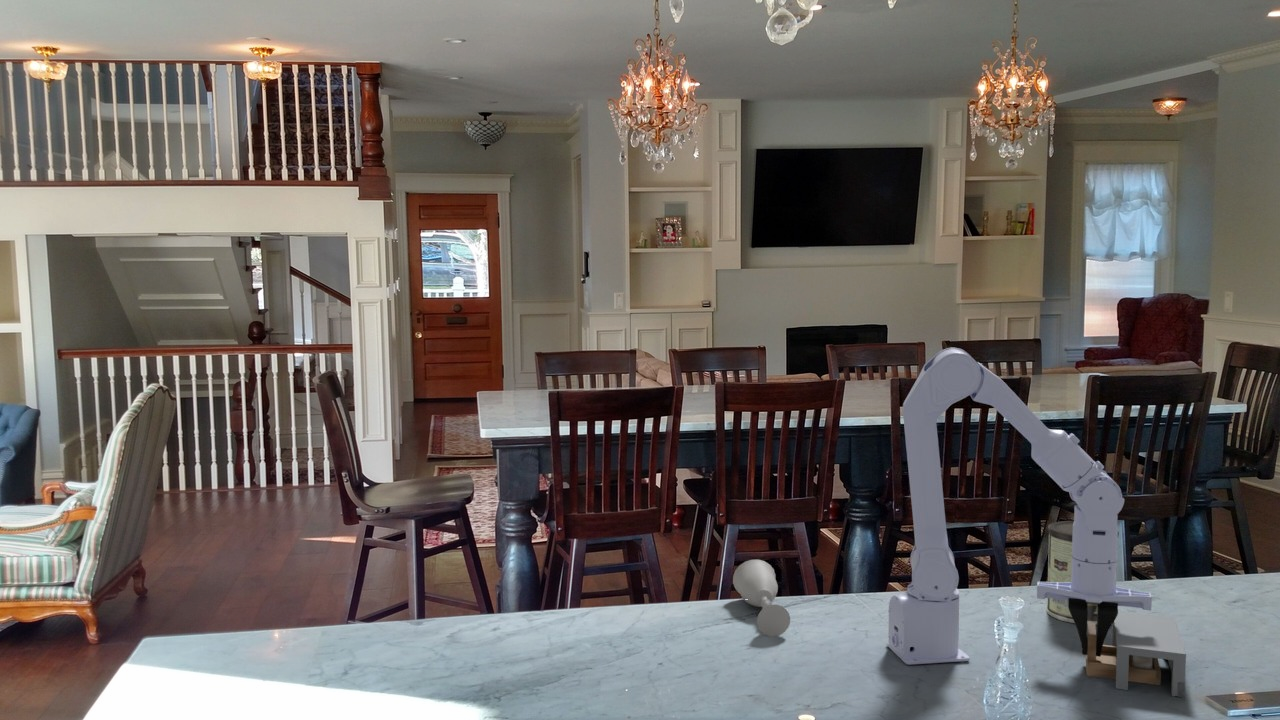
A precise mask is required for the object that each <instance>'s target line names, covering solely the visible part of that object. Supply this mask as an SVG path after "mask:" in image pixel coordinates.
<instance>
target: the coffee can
mask: <svg viewBox="0 0 1280 720" xmlns="http://www.w3.org/2000/svg"><path fill="white" fill-rule="evenodd" d="M1073 523H1074V520H1064V521H1063V520H1062V521H1056V522H1052V523H1049V524H1048V526H1047V531H1048V551H1047V552H1048V555H1047V556H1048V558H1047V559H1048V561H1047V582H1071V567H1072V536H1073ZM1119 532H1120V531H1118V536H1119ZM1116 574H1117V569H1116ZM1046 599H1047V601H1046V603H1047V605H1046V613H1047V614H1048V615H1049V616H1051V617H1052V618H1054V619H1056V620H1059V621H1061V622H1065V623H1070V624H1074V625H1075V622H1074V620H1073V618H1072V616H1071V614H1070V611H1069V608H1068V600H1061V599H1052V598H1046ZM1087 605H1088V608H1087V610H1088V617H1087V626H1088V622H1093V623H1095V625H1096V626H1097V603H1089V602H1087Z"/></svg>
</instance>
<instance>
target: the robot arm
mask: <svg viewBox="0 0 1280 720" xmlns="http://www.w3.org/2000/svg"><path fill="white" fill-rule="evenodd" d="M969 396H970V397H971V399H972V401H974V402H976V403H980V404H985V405H989V406H991V407H993V408H994V409H995V410H996V411H997V412H998V413H999V414H1000V415H1001V416H1002V417H1003V418H1004V419H1005V420H1007V422H1008V423H1010V424H1011V425H1012V426H1013V427H1014V429H1015V430H1017V431H1018V433H1020V435H1022V436H1023V437H1024V438H1025V440H1026V439H1027V441H1028V442H1029V443H1030V444H1031V445H1030V446H1031V452H1030V453H1031V454H1030V455H1031V459H1032V460H1033V461H1034V462H1035V464H1036V465H1038V466H1039V467H1041V469H1042V470H1043V471H1044V472H1045V473H1046V474H1047V476H1049V477H1050V478H1051V479H1052V480H1053V481H1054V482H1055V483H1056V484H1057V485H1058V486H1059V488H1061V490H1062V491H1065V492H1067V493H1069V497H1070V499H1071V500H1072V501H1073V502H1075V503H1076V504H1077V505H1075V504H1074V507H1073V508H1074V513H1073V514H1074V516H1073V521H1074V523H1073V536H1072V567H1071V582H1048V581H1036V582H1037V583H1036V599H1037V600H1045V599H1047V598H1052V599H1061V600H1068V608H1069V611H1070V614H1071V616H1072V618H1073V620H1074V622H1075V624H1074V625H1075V628H1076V630H1077V633H1078V635H1079V640H1080V644H1081V645H1080V646H1081V654H1082V655H1084V656H1086V655H1087V653H1088V643H1087V627H1088V625H1087V617H1088V610H1087V608H1088V605H1087V602H1089V603H1097V625H1096V656H1099V657H1100V656H1101V650H1102V646H1103V645H1104V642H1105V640H1106V637H1107V635H1108V634H1109V631H1110V629H1111V627H1112V624H1113V622H1114V620H1115V619H1116V617H1117V615H1118V611H1119V606H1120V607H1128V608H1137V609H1138V608H1139V609H1142V610H1143V611H1152V605H1153V604H1152V602H1153V601H1152V598H1153V597H1152V593H1151V592H1147V591H1146V592H1145V591H1139V590H1134V589H1128V588H1123V587H1119V586H1117V573H1116V569H1117V568H1118V542H1119V541H1118V540H1119V539H1118V538H1119V535H1118V532H1119V528H1118V519H1119V518H1118V515H1119V513H1120V512H1121V511H1122V509H1123V507H1124V505H1125V498H1124V497H1123V493H1122V490H1121V488H1120V486H1119V484H1118V483H1117V482H1116V481H1115V480H1114V479H1113V478H1112V477H1111V476H1109V475H1108V473H1107V471H1105V470H1104V469H1105V466H1104V465H1103V464H1102V463H1101V462H1100V461H1099V460H1097V461H1095V460H1093V458H1092V457H1091V456H1090V455H1089V454H1088V453H1087V452H1086V451H1085V450H1084V449H1083V448H1081V446H1080V445H1079V443H1080V442H1081V441H1080V439H1079V438H1078V437H1077V436H1076V435H1075V434H1074V433H1072V432H1071V433H1069V434H1068V433H1067V431H1065V430H1064V429H1063V430H1062V429H1050V428H1048V427H1047V426H1046V425H1045V423H1043V422H1042V421H1041V419H1039V417H1037V415H1036V413H1034V412H1033V411H1032V410H1031V409H1030V408H1029V407H1028V406H1027V405H1026V404H1025V403H1024V401H1022V399H1021V398H1020V397H1019V396H1018V395H1017V394H1016V393H1015V391H1013V390H1012V389H1011V388H1010V387H1009V386H1008V384H1007V383H1006V382H1004V380H1002V379H1001V378H1000V376H998V375H997V374H995V373H993V372H992V371H991V370H990V369H989V368H987V366H984V365H983V364H982V363H980V362H979V361H976V360H975V359H974V357H972V356H971V354H969V353H968V352H967V351H965V350H964V349H962V348H959V347H958V348H957V347H947V348H945V349H941V350H940V351H938V352H937V353H936V354H935V355H934V356H933V357H931V358H930V359H929V360H928V361H927V362H926V363H924V365H923V367H922V369H921V371H920V372H919V375H918V376H917V378H916V380H915V382H914V384H913V385H912V387H911V389H910V391H909V392H908V394H907V396H906V397H905V400H904V401H903V403H902V416H903V417H902V419H903V425H904V426H903V428H904V437H905V448H906V459H907V468H908V479H909V491H910V499H911V510H912V511H911V512H912V520H913V522H912V523H913V534H914V544H913V545H914V546H913V548H912V551H911V553H910V559H909V562H910V566H911V582H910V584H908V585H907V590H906V591H905V592H903V593H900V594H895V595H892V596H891V597H890V600H889V604H888V641H886V646H887V647H888V648H889V649H890V650H891V651H892V652H893V653H894V654H895V655H896V656H897V657H898V658H900V660H901V661H902V662H903V663H904V664H906V665H908V666H909V665H922V664H923V665H925V664H939V663H941V664H942V663H954V662H955V663H956V662H969V661H970V660H971V658H970V656H969V655H968V654H967V653H965V652H964V651H963V650H962V649H960V648H959V639H960V638H959V636H960V635H959V633H960V632H959V631H960V630H959V629H960V589H958V585H959V581H960V576H959V572H958V569H957V567H956V564H955V563H956V562H955V555H954V553H953V551H952V549H951V548H950V547H949V539H948V531H947V522H946V521H947V520H946V513H945V502H944V491H943V490H944V489H943V481H942V480H943V479H942V470H941V468H942V467H941V458H940V447H939V437H938V428H937V427H938V425H937V422H938V421H937V420H938V419H939V418H940V417H941V416H942V415H943V414H944V413H945V412H946V411H947V410H948V409H949V407H950V406H952V405H953V404H955V403H957V402H960V401H961V400H963V399H966V398H967V397H969Z"/></svg>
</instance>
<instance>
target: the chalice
mask: <svg viewBox="0 0 1280 720" xmlns="http://www.w3.org/2000/svg"><path fill="white" fill-rule="evenodd" d="M776 576H777V575H776V573H775V569H774V567H772V565H771V564H769V563H768V562H766V561H765V560H761V559H749V560H746V561H744V562H743V563H741V564H739V565H738V567H736V569H735V571H734V573H733V575H732V584H733V587H734V588H735V590H736V591H737V593H739V594H740V595H741V598H742V599H743V600H744V599H748V600H744V602H746V603H747V604H749V605H751V606H753V607H758V608H760V607H761V610H760V612H759V613H758V615H757V618H756V624H757V627H758V629H759V631H760V632H761V633H762V634H764V635H765V636H768V637H777V636H781V635H782V634H784V633H785V632H786V631H787V630H788V629H789V626H790V623H791V616H790V613H789V611H788V610H787V609H786V608H785V607H783V606H782V605H779V604H772V603H773V602H774V600H775V598H776V596H777V595H778V590H779V585H778V582H777V580H776V578H777V577H776Z"/></svg>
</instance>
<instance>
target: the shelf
mask: <svg viewBox="0 0 1280 720" xmlns="http://www.w3.org/2000/svg"><path fill="white" fill-rule="evenodd" d="M1111 627H1112V629H1111V633H1112V634H1111V646H1116V647H1117V659H1116V679H1115V689H1118V690H1125V691H1128V690H1129V681H1128V671H1129V655H1135V656H1143V657H1151V658H1158V659H1162V660H1168V665H1169V669H1170V673H1171V689H1170V690H1171V691H1170V693H1171V696H1172V697H1175V696H1178V698H1183V697H1184V698H1185V689H1186V688H1185V686H1186V668H1187V667H1186V666H1187V665H1186V663H1187V661H1186V660H1187V654H1186V649H1185V646H1184V642H1183V639H1182V637H1181V633H1180V630H1179V627H1178V622H1177V620H1176V617H1175V616H1172V615H1171V616H1170V615H1160V614H1150V613H1142V612H1132V611H1131V612H1130V611H1122V610H1118V615H1117V617H1116V619H1115V620H1114V622H1113V624H1112V625H1111Z"/></svg>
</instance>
